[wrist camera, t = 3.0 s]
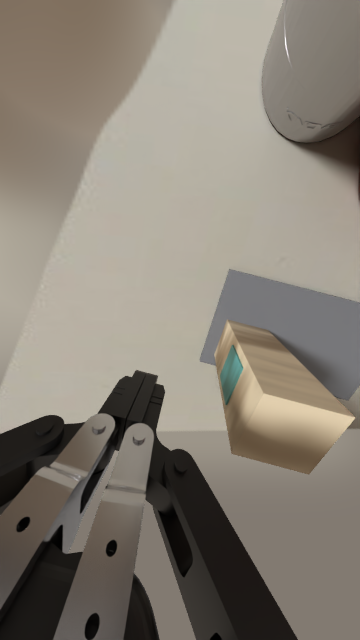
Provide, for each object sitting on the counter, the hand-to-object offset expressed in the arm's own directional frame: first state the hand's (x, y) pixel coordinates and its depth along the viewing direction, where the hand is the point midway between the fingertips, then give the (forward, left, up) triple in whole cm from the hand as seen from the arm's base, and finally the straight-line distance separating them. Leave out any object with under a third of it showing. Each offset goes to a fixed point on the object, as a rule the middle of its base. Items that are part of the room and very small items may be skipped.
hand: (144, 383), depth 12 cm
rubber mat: (-2, +15, -11) cm, 19 cm away
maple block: (0, +9, -11) cm, 14 cm away
